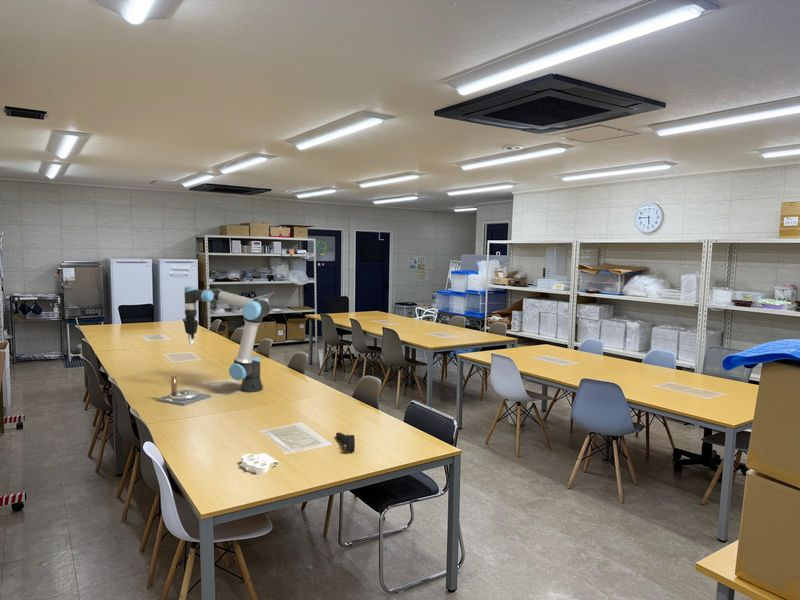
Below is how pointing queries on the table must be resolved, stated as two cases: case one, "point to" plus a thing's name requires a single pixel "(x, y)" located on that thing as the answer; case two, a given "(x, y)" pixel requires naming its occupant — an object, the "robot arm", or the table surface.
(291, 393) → the table surface
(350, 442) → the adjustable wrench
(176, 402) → the stand plate
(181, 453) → the table surface
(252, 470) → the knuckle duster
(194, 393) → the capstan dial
